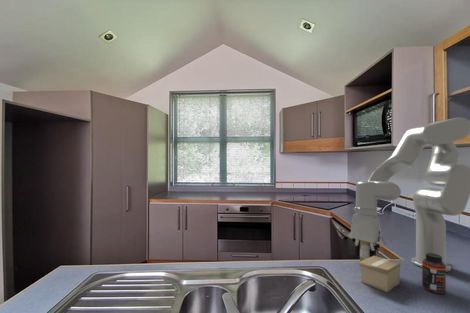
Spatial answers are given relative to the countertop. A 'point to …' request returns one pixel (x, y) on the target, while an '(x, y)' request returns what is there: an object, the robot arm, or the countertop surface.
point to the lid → (379, 264)
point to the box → (380, 278)
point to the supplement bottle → (434, 273)
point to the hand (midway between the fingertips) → (365, 257)
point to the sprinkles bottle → (364, 250)
